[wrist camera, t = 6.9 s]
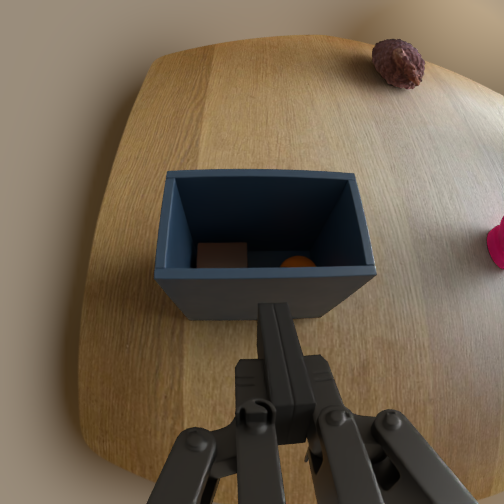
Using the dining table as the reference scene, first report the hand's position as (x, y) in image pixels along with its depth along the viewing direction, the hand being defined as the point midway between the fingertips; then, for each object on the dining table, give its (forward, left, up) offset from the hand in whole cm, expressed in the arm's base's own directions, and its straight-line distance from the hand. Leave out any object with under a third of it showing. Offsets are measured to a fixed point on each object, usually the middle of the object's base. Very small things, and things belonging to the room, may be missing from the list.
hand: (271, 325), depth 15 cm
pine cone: (+52, +8, -11) cm, 54 cm away
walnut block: (+3, +6, -10) cm, 12 cm away
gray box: (+4, +4, -11) cm, 12 cm away
